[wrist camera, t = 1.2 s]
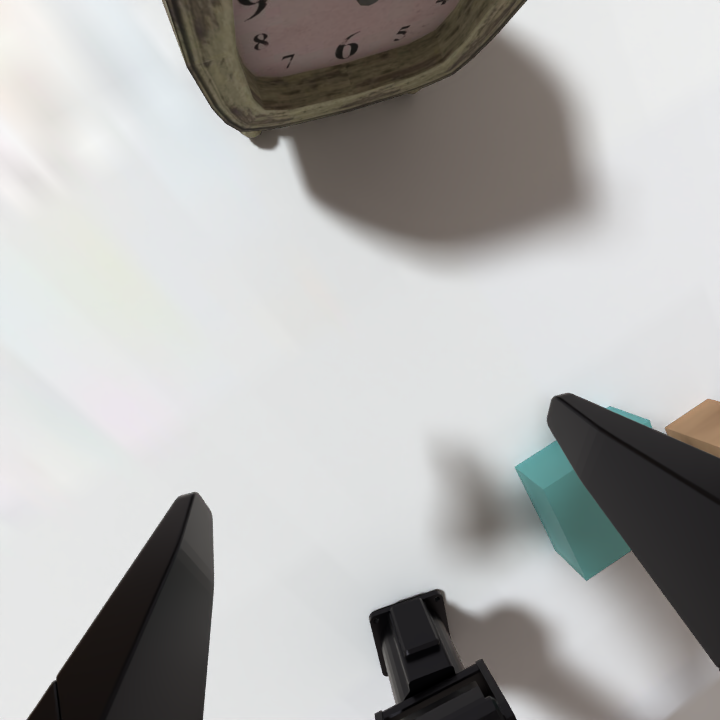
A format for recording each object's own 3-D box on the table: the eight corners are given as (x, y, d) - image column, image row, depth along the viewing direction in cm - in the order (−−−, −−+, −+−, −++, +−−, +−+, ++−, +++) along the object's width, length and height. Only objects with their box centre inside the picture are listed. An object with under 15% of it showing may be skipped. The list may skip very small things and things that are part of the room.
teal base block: (639, 490, 35) (683, 515, 31) (552, 548, 34) (586, 580, 30) (606, 404, 32) (649, 420, 28) (512, 465, 32) (543, 489, 28)
